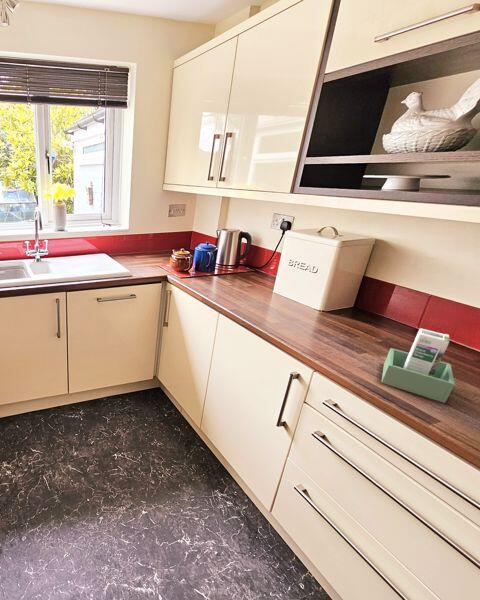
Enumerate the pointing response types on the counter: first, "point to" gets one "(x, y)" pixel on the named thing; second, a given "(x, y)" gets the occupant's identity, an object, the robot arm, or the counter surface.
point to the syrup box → (426, 352)
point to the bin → (417, 377)
